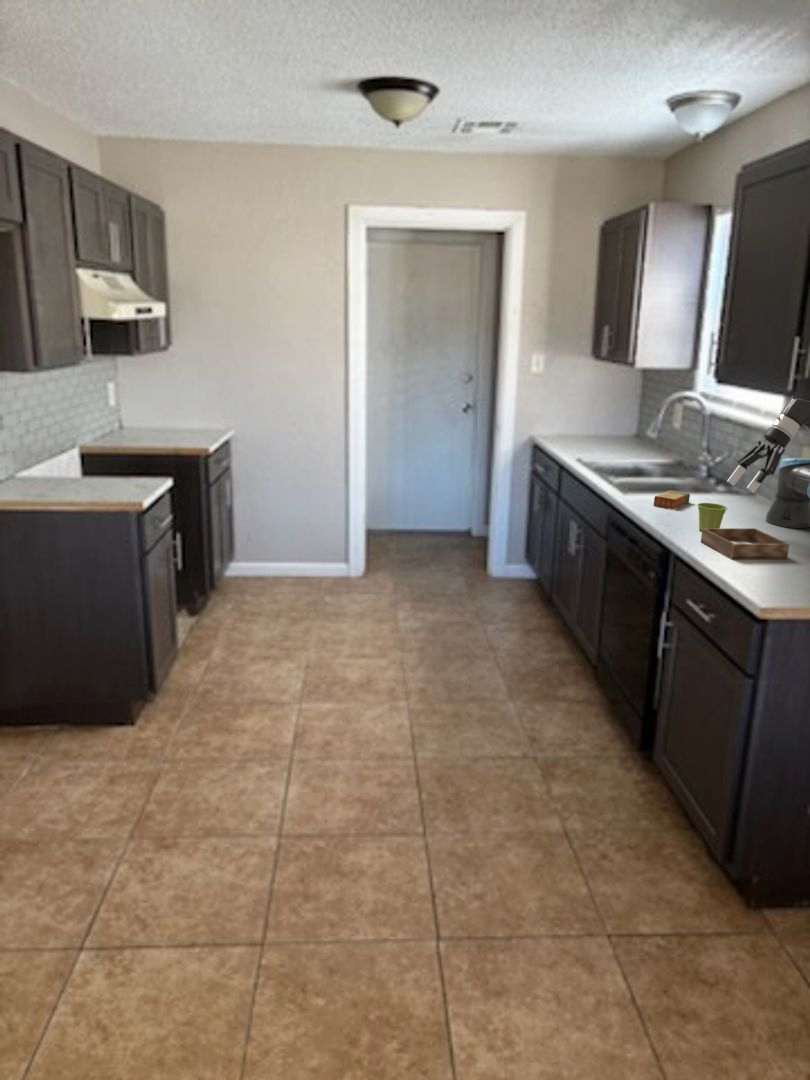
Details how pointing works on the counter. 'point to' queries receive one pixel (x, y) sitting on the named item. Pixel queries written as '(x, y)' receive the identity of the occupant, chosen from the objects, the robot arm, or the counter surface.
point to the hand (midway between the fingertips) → (740, 486)
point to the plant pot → (710, 515)
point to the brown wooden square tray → (744, 543)
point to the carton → (671, 499)
